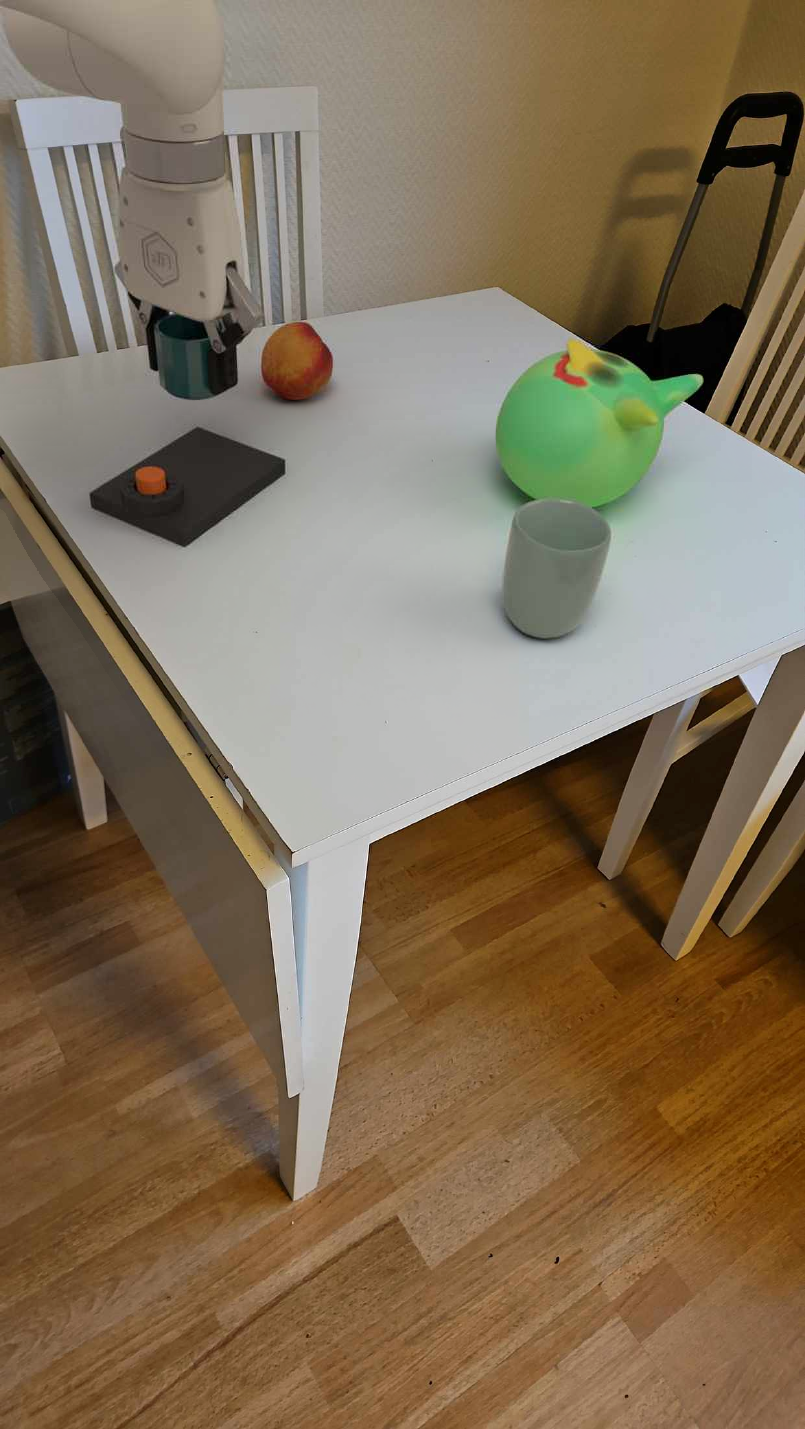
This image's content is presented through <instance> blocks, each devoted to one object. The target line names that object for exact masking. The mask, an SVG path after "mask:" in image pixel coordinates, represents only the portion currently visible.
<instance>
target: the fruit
mask: <svg viewBox="0 0 805 1429" xmlns="http://www.w3.org/2000/svg"><path fill="white" fill-rule="evenodd" d="M333 369H334V357H333V353H332V351H331V350H330V348H329V346H328V345H327V344H326V343H325V342H324V340H323V339H322V337H321V336H320V335H319V334H318V333H317V331H316V330H315V328H314V327H313V326H312V325H311V324H310V323H308V322H305V321H293V322H289V323H285V324H283V325H282V326H280V327H279V328H278V329H276V330H275V331H274V332H273V333H272V334H271V335H270V336H269V338H268V339H267V341H266V342H265V344H264V347H263V349H262V354H261V362H260V371H261V377H262V379H263V382H264V383H265V385H266V386H267V387H268V388H269V389H270V390H272V391H273V392H274V393H275V395H277V396H278V397H281V398H282V399H286V400H295V401H296V400H298V401H299V400H303V399H307V398H310V397H312V396H313V395H315V394H317V393H319V392H320V391H322V390H323V389H324V388H325V387H326V386H327V384H328V383H329V382H330V379H331V377H332V374H333Z"/></svg>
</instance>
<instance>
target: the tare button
mask: <svg viewBox="0 0 805 1429" xmlns="http://www.w3.org/2000/svg"><path fill="white" fill-rule="evenodd" d="M135 476H136V484H137V490H138V492H139V493H142V494H149V495H154V494H159V493H162V492H164V491H165V490H166V480H165V473H164V471H163V470H162V469H160V468H158V467H143V468H141V469H139V470H138V471H137V472H136V474H135Z"/></svg>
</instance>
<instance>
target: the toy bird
mask: <svg viewBox="0 0 805 1429" xmlns="http://www.w3.org/2000/svg"><path fill="white" fill-rule="evenodd" d="M566 347H567V349H566V350H562V351H558V352H555V353H552V354H549V355H547V356H545V357H543V358H541V359H540V360H538V361H537V362H535V363H534V364H532V365H531V366H530V367H528V368H527V369H525V371H524V372H523V373H522V374H521V375H520V376H519V377H518V378H517V379H516V381H514V383H513V385H512V386H511V388H510V389H509V390H508V392H507V393H506V396H505V398H504V399H503V402H502V403H501V406H500V409H499V411H498V415H497V419H496V423H495V424H496V425H495V447H496V448H495V449H496V452H497V456H498V460H499V462H500V465H501V466H502V468H503V470H504V472H505V473H506V475H507V476H508V477H509V479H510V480H511V481H512V482H513V483H514V484H515V485H516V487H517V488H519V489H520V491H522V492H524V493H525V494H526V495H527V496H529V497H531V498H533V499H534V500H538V499H545V498H563V499H569V500H574V501H577V502H580V503H583V504H585V505H587V506H589V507H591V508H596V507H599V506H603V505H605V504H609V503H610V502H613V501H615V500H616V499H618V498H620V497H622V496H623V495H624V494H626V493H628V491H630V490H631V489H632V488H633V487H634V486H636V484H637V483H639V481H640V480H642V478H643V477H644V476H645V474H646V473H647V472H648V470H649V469H650V467H651V466H652V464H653V462H654V460H655V458H656V456H657V454H658V453H659V449H660V447H661V443H662V440H663V436H664V430H665V418H666V417H667V415H669V414H670V413H671V412H672V411H673V410H675V409H676V408H677V407H679V406H680V405H681V404H682V403H684V402H685V401H686V400H687V399H688V398H690V397H691V396H692V395H694V393H696V392H697V391H698V390H699V389H700V388H701V387H702V385H703V383H704V377H703V375H701V374H699V373H692V374H685V375H679V376H674V377H670V378H664V379H660V380H659V379H658V380H651V379H650V378H649V376H648V375H647V374H646V373H645V372H644V371H643V370H642V369H641V368H640V367H639V366H637V365H636V364H634V363H633V362H631V361H630V360H628V359H627V358H624V357H622V356H620V355H618V354H615V353H613V352H609V351H604V350H600V349H594V348H593V349H592V348H590V347H588V346H587V345H586V344H584V343H583V342H581V341H579V340H577V339H574V338H570V339H568V340H567V342H566Z"/></svg>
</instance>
